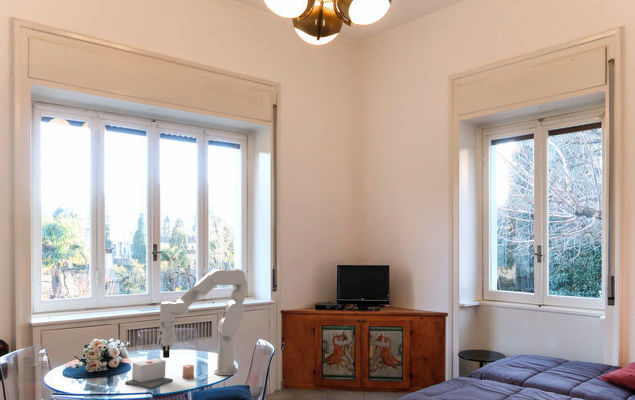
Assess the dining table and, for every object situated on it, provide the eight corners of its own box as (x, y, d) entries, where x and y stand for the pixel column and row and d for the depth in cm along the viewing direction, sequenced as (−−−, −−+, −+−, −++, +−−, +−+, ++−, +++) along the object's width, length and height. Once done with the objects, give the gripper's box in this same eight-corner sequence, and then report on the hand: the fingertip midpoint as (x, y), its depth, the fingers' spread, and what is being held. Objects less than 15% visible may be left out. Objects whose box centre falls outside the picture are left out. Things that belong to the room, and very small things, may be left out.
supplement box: (166, 360, 286) (141, 365, 275) (165, 377, 286) (140, 382, 274) (157, 357, 292) (132, 362, 281) (156, 373, 292) (131, 379, 281)
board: (172, 381, 282) (172, 379, 282) (151, 389, 268) (151, 386, 268) (147, 376, 290) (147, 374, 290) (125, 384, 276) (125, 381, 276)
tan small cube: (196, 376, 292) (196, 365, 293) (189, 379, 287) (189, 368, 287) (187, 375, 295) (187, 364, 295) (180, 377, 290) (180, 366, 290)
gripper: (163, 327, 283) (162, 361, 282) (181, 322, 297) (180, 355, 296) (152, 325, 286) (151, 359, 285) (170, 321, 300) (169, 353, 299)
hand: (166, 357), depth 291 cm, fingers closed
